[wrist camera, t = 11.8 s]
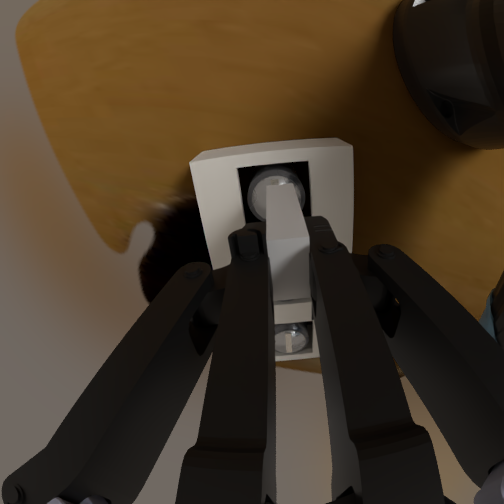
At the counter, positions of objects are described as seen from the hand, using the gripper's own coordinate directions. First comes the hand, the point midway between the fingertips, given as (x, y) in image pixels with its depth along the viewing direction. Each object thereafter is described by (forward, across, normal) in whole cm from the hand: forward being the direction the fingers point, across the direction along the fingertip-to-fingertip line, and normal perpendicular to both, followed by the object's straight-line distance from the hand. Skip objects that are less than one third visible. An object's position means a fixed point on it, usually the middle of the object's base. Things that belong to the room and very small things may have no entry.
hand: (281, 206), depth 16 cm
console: (+6, 0, -6) cm, 8 cm away
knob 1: (+5, 0, 0) cm, 5 cm away
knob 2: (+5, 0, -13) cm, 14 cm away
